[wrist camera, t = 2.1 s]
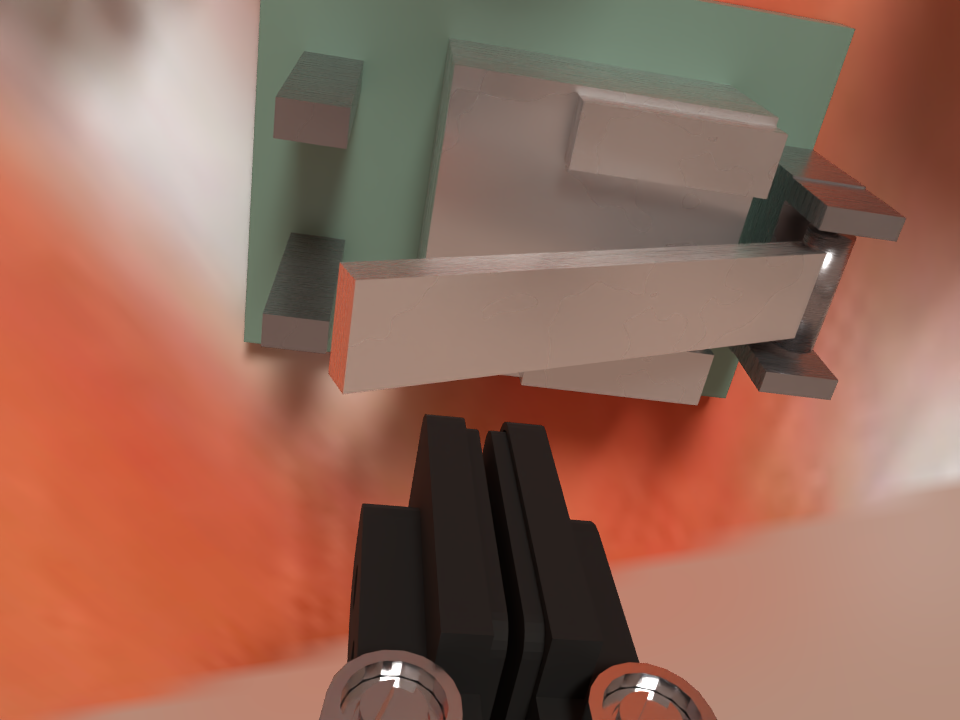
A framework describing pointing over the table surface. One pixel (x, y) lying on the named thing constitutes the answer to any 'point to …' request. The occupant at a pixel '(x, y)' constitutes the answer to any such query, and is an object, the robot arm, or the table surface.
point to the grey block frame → (581, 192)
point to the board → (417, 92)
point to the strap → (575, 308)
